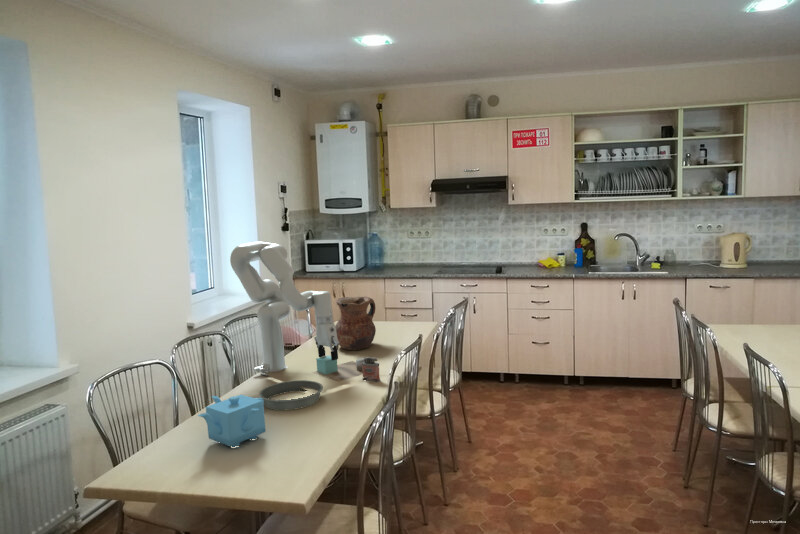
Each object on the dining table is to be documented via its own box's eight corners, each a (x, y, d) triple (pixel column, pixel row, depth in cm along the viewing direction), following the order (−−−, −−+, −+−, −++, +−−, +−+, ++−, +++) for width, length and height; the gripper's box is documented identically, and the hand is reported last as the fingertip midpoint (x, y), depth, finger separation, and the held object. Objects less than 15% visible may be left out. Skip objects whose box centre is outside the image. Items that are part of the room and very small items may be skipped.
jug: (357, 354, 299) (353, 304, 296) (325, 349, 311) (322, 301, 308) (385, 344, 316) (382, 296, 313) (354, 339, 329) (351, 293, 326)
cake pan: (333, 391, 247) (332, 380, 246) (308, 413, 224) (307, 401, 223) (277, 389, 254) (277, 378, 253) (248, 410, 230) (246, 399, 230)
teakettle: (268, 427, 212) (265, 386, 210) (262, 449, 194) (258, 404, 192) (212, 432, 210) (208, 391, 208) (201, 455, 192) (196, 410, 190)
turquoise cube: (325, 374, 264) (324, 361, 263) (317, 371, 269) (316, 358, 268) (337, 371, 268) (336, 357, 267) (329, 368, 273) (328, 355, 272)
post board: (339, 384, 254) (338, 370, 253) (312, 375, 269) (311, 362, 268) (380, 372, 268) (379, 358, 268) (352, 364, 283) (351, 351, 282)
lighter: (361, 380, 258) (359, 357, 257) (365, 378, 261) (363, 355, 260) (377, 382, 254) (376, 359, 253) (381, 380, 257) (380, 356, 256)
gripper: (343, 319, 261) (347, 358, 263) (320, 316, 274) (324, 353, 276) (328, 323, 257) (332, 363, 259) (306, 319, 270) (310, 357, 272)
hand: (328, 358), depth 267 cm, fingers open, 9 cm apart
